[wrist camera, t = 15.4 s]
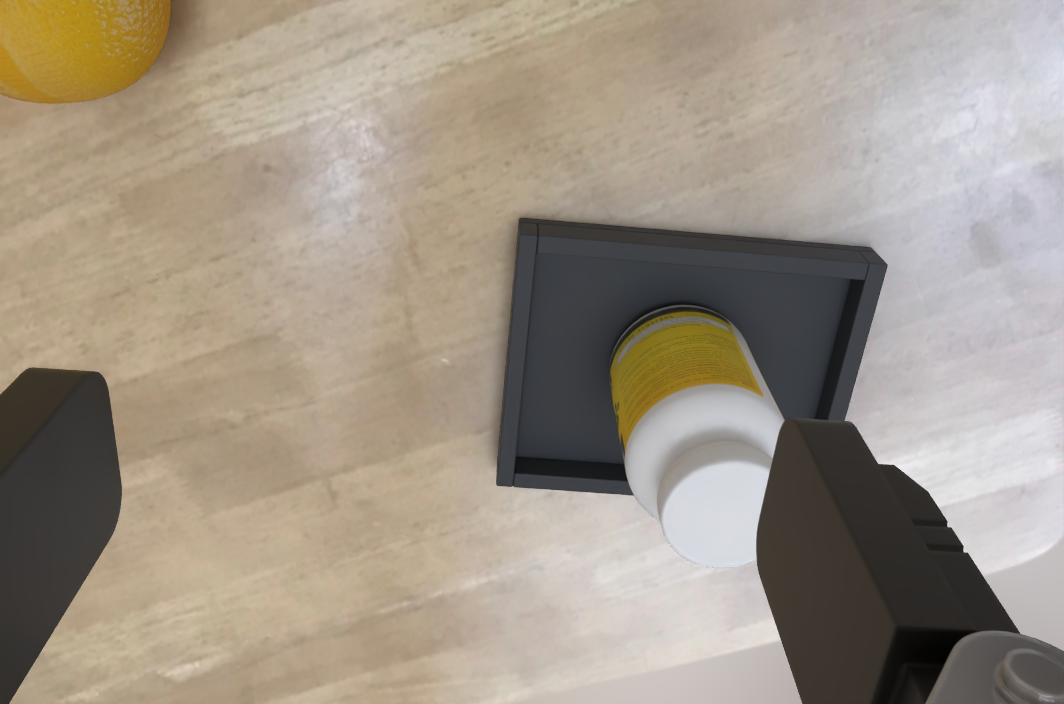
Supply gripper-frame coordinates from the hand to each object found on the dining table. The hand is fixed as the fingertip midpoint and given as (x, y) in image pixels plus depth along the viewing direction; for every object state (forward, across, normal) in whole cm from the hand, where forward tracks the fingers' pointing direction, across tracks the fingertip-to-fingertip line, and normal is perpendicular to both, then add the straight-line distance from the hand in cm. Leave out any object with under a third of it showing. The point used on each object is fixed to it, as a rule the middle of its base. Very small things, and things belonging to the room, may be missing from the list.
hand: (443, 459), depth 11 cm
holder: (+30, -9, +13) cm, 34 cm away
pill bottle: (+29, -9, +13) cm, 33 cm away
